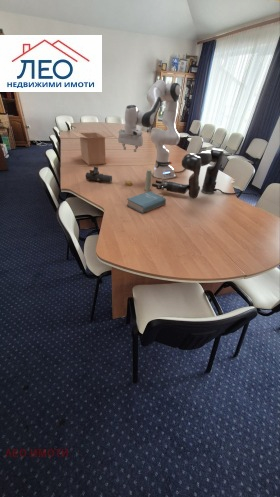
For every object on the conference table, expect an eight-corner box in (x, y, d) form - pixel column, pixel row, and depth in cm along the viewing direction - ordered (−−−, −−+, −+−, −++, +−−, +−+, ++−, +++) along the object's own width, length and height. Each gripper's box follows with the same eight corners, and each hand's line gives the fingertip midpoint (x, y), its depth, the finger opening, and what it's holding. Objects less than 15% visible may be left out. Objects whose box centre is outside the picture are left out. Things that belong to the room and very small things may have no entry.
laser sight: (109, 184, 185) (109, 172, 179) (84, 181, 187) (82, 169, 182) (112, 180, 192) (112, 169, 186) (88, 177, 195) (87, 166, 189)
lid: (132, 185, 188) (132, 182, 186) (126, 185, 186) (127, 183, 185) (130, 183, 191) (130, 180, 190) (125, 183, 190) (125, 180, 188)
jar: (145, 188, 183) (147, 169, 173) (150, 189, 182) (152, 170, 173) (144, 190, 180) (146, 170, 170) (149, 191, 179) (151, 171, 169)
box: (116, 165, 229) (116, 136, 213) (83, 168, 214) (80, 137, 198) (102, 154, 259) (101, 128, 243) (71, 156, 244) (68, 129, 228)
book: (149, 197, 168) (149, 191, 165) (165, 204, 160) (166, 198, 157) (127, 205, 155) (127, 198, 152) (143, 213, 146) (143, 207, 143)
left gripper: (116, 129, 166) (116, 149, 174) (140, 133, 159) (139, 153, 167) (121, 128, 171) (121, 147, 179) (144, 132, 163) (143, 152, 171)
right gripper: (176, 179, 175) (157, 176, 179) (171, 185, 164) (151, 181, 169) (175, 188, 180) (156, 185, 184) (170, 194, 169) (150, 190, 173)
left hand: (129, 150), depth 173 cm, fingers open, 8 cm apart
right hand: (153, 183), depth 176 cm, fingers open, 8 cm apart
